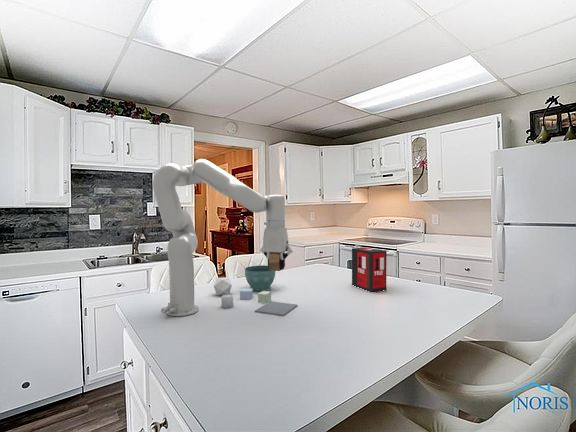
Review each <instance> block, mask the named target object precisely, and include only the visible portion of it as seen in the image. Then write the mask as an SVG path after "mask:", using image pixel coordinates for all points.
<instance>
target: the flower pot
mask: <svg viewBox="0 0 576 432" xmlns="http://www.w3.org/2000/svg"><path fill="white" fill-rule="evenodd" d="M244 276H245V278H246V282H247V283H248V285H249V286H250V289H253V292H254V291H255V292H262V291H269V290H270V288H271V286H272V284H273V283H274V280H275V279H276V278H275V277H276V271H272V270H269V268H268V265H266V264H264V265H251V266H247V267H246V266H245V268H244Z"/></svg>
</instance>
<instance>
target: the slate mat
mask: <svg viewBox="0 0 576 432" xmlns="http://www.w3.org/2000/svg"><path fill="white" fill-rule="evenodd" d="M297 307H298V304H296V303H288V302H287V303H286V302H278V301H273V300H271V301H269V302H267V303H264V304H263V305H261V306H260V307H258V308H257V309H255V310H254V312H255V313H257V314H258V313H259V314H266V315H272V316H273V315H274V316H279V317H280V316H281V317H285V316H286V315H287V314H289V313H290V312H292V311H293V310H294V309H295V308H297Z"/></svg>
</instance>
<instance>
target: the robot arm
mask: <svg viewBox="0 0 576 432" xmlns="http://www.w3.org/2000/svg"><path fill="white" fill-rule="evenodd" d="M203 183H204V184H206V185H207V186H209V187H211V188H212V189H214V190H215V191H217V192H219V194H222V195H223V196H225V197H227V198H229V199H231V200H233V201H234V202H235V203H237V204H239V205H240V206H242V207H244V208H245V209H247V210H248V211H250V212H252V213H263V212H266V221H264V223H263V225H265V226H266V227H264V231H263V237H262V247H261V248H260V252H261V253H262V254H263V255H264V257H266V259H267V266H268V268H269V253H272V252H275V253H280V258H281V260H280V271H283V270H284V269H285V267H286V259H287V258H288V257H289V256H290V255H291V254H292V253H293V249H292V248H291V246H290V245H289V244H290V243H289V234H288V233H289V232H288V230H287V227H286V216H285V215H286V209H285V207H286V206H285V205H286V203H285V202H286V199H285V196H284V195H283V194H269V195H264V194H263V195H262V194H261V193H259V192H257V191H256V190H254V189H252V188H251V187H249V186H248V185H246V184H245V183H243V182H242V181H240V180H239V179H238V178H236V177H235V176H234V175H232V174H230V173H229V172H227V171H225V170H224V169H223V168H221V167H219V166H217V165H216V164H214V163H213V162H211V161H209V160H207V159H206V158H198V159H197V160H195V161H194V162H193V164H189V165H183V166H182V165H179V164H177V163H175V162H174V163H173V162H172V163H170V162H169V163H166V164H163V165H162V166H161V167H159V169H158V170H157V171H156V172H155V174H154V176H153V179H152V188H153V192H154V198H155V200H156V204H157V207H158V211H159V214H160V217H161V223H162V224H163V228H164V229H165V230H166V231H169V232H172V233H171V234H172V236H173V237H171V238H170V240H169V241H168V243H167V246H166V247H167V249H166V250H167V251H166V252H167V259H168V270H169V272H168V274H169V302H168V303H167V306H164V307H162V308H161V309H160V312H161V314H166V315H167V316H170V317H184V316H190V315H193V314H195V313H197V312H199V306H198V305H196V304H195V268H194V267H195V264H194V255H193V253H194V252H196V250H197V249H198V243H199V242H198V241H199V240H198V237H197V234H196V230H195V226H194V223H193V219H192V217H191V215H190V213H189V212H188V211H187V210H186V209H185V208H184V209H183V207H182V204H181V201H180V197H179V195H178V192H177V188H176V187H186V186H191V185H196V184H203ZM282 269H283V270H282Z"/></svg>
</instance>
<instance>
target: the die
mask: <svg viewBox="0 0 576 432" xmlns="http://www.w3.org/2000/svg"><path fill="white" fill-rule="evenodd" d="M213 288H214V291H215V294H216V296H217V297H218V296H223V295H230V292H231V289H232V283H231V281H230V278H229V277H227V276H226V277H225V276H224V277H217V278H216V280H215V282H214V285H213Z"/></svg>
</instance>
